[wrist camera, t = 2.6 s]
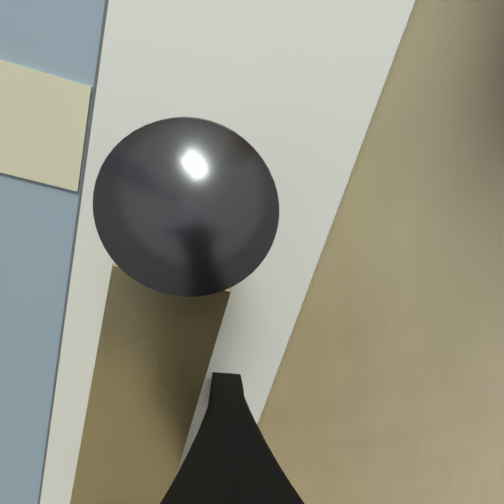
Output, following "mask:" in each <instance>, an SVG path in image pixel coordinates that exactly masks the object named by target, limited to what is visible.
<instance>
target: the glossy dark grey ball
mask: <svg viewBox="0 0 504 504" xmlns="http://www.w3.org/2000/svg"><path fill="white" fill-rule="evenodd" d="M93 216H94V221H95V226H96V229H97V232H98V235H99V238H100V240H101V242H102V244H103V246H104V248H105V250H106V251H107V253H108V254H109V256H110V257H111V259H112V260H113V261H114V262H115V263H116V264H117V265H118V267H119V268H120V269H121V270H123V271H124V272H125V273H126V274H127V275H128V276H130V277H131V278H132V279H134V280H135V281H137V282H138V283H140V284H142V285H144V286H146V287H148V288H150V289H153V290H155V291H158V292H161V293H165V294H168V295H174V296H182V297H196V296H205V295H210V294H215V293H218V292H221V291H224V290H226V289H228V288H231V287H233V286H235V285H236V284H238V283H239V282H241V281H243V280H244V279H245V278H247V277H248V276H249V275H250V274H252V273H253V272H254V271H255V269H256V268H257V267H258V266H259V265H260V264H261V263H262V261H263V260H264V259H265V257H266V256H267V254H268V252H269V250H270V248H271V246H272V244H273V241H274V239H275V236H276V232H277V228H278V222H279V199H278V193H277V189H276V186H275V182H274V179H273V177H272V175H271V173H270V170H269V168H268V167H267V165H266V164H265V162H264V160H263V159H262V157H261V156H260V155H259V154H258V152H257V151H256V150H255V149H254V147H253V146H252V145H251V144H250V143H249V142H248V141H246V140H245V139H244V138H243V137H242V136H240V135H239V134H238V133H236V132H235V131H233V130H232V129H230V128H228V127H226V126H224V125H222V124H219V123H217V122H214V121H211V120H207V119H203V118H197V117H172V118H167V119H162V120H159V121H156V122H153V123H150V124H147V125H145V126H143V127H141V128H139V129H137V130H135V131H133V132H132V133H130V134H129V135H127V136H126V137H125V138H123V139H122V140H121V141H120V142H119V143H118V144H117V145H116V146H115V147H114V148H113V149H112V151H111V152H110V153H109V155H108V156H107V157H106V159H105V161H104V163H103V164H102V166H101V168H100V170H99V173H98V176H97V178H96V182H95V186H94V191H93Z"/></svg>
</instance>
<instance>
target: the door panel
mask: <svg viewBox="0 0 504 504" xmlns="http://www.w3.org/2000/svg"><path fill="white" fill-rule="evenodd" d="M414 2H415V0H0V504H70V501H71V495H72V489H73V484H74V478H75V473H76V467H77V461H78V456H79V450H80V444H81V439H82V433H83V428H84V422H85V416H86V411H87V405H88V399H89V394H90V388H91V383H92V377H93V371H94V366H95V360H96V354H97V349H98V343H99V337H100V332H101V326H102V321H103V315H104V309H105V304H106V298H107V292H108V287H109V281H110V276H111V270H112V265H113V264H114V261H113V260H112V259H111V257H110V256H109V254H108V253H107V251H106V250H105V248H104V246H103V244H102V242H101V240H100V238H99V235H98V232H97V229H96V226H95V221H94V216H93V191H94V186H95V182H96V178H97V176H98V173H99V170H100V168H101V166H102V164H103V163H104V161H105V159H106V157H107V156H108V155H109V153H110V152H111V151H112V149H113V148H114V147H115V146H116V145H117V144H118V143H119V142H120V141H121V140H122V139H123V138H125V137H126V136H127V135H129V134H130V133H132V132H133V131H135V130H137V129H139V128H141V127H143V126H145V125H147V124H150V123H153V122H156V121H159V120H162V119H167V118H172V117H197V118H203V119H207V120H211V121H214V122H217V123H219V124H222V125H224V126H226V127H228V128H230V129H232V130H233V131H235V132H236V133H238V134H239V135H240V136H242V137H243V138H244V139H245V140H246V141H248V142H249V143H250V144H251V145H252V146H253V147H254V149H255V150H256V151H257V152H258V154H259V155H260V156H261V157H262V159H263V160H264V162H265V164H266V165H267V167H268V168H269V170H270V173H271V175H272V177H273V179H274V182H275V186H276V189H277V193H278V199H279V222H278V228H277V232H276V236H275V239H274V241H273V244H272V246H271V248H270V250H269V252H268V254H267V256H266V257H265V259H264V260H263V261H262V263H261V264H260V265H259V266H258V267H257V268H256V269H255V271H254V272H253V273H252V274H250V275H249V276H248V277H247V278H245V279H244V280H243V281H241V282H239V283H238V284H236V285H235V286H233V287H231V293H230V296H229V300H228V303H227V306H226V310H225V313H224V316H223V320H222V323H221V326H220V330H219V333H218V336H217V340H216V343H215V346H214V350H213V353H212V356H211V360H210V363H209V366H208V370H207V373H206V376H205V380H204V383H203V386H202V390H201V393H200V396H199V400H198V403H197V406H196V410H195V413H194V416H193V420H192V423H191V427H190V430H189V433H188V437H187V440H186V443H185V447H184V450H183V453H182V457H181V460H180V463H179V467H178V470H177V473H178V471H179V470H180V468H181V466H182V464H183V462H184V460H185V458H186V456H187V454H188V452H189V450H190V448H191V446H192V443H193V441H194V439H195V437H196V435H197V433H198V430H199V428H200V425H201V423H202V420H203V418H204V415H205V413H206V410H207V407H208V401H209V394H210V386H211V379H212V372H218V373H232V374H240V375H241V379H242V384H243V390H244V397H245V399H246V402H247V404H248V406H249V409H250V411H251V413H252V415H253V417H254V420H255V422H256V424H258V421H259V419H260V416H261V413H262V411H263V408H264V405H265V402H266V400H267V397H268V394H269V392H270V389H271V386H272V384H273V381H274V378H275V376H276V373H277V370H278V368H279V365H280V362H281V359H282V357H283V354H284V351H285V349H286V346H287V343H288V341H289V338H290V335H291V333H292V330H293V327H294V325H295V322H296V319H297V317H298V314H299V311H300V308H301V306H302V303H303V300H304V298H305V295H306V292H307V290H308V287H309V284H310V282H311V279H312V276H313V274H314V271H315V268H316V266H317V263H318V260H319V257H320V255H321V252H322V249H323V247H324V244H325V241H326V239H327V236H328V233H329V231H330V228H331V225H332V223H333V220H334V217H335V214H336V212H337V209H338V206H339V204H340V201H341V198H342V196H343V193H344V190H345V188H346V185H347V182H348V180H349V177H350V174H351V172H352V169H353V166H354V163H355V161H356V158H357V155H358V153H359V150H360V147H361V145H362V142H363V139H364V137H365V134H366V131H367V129H368V126H369V123H370V120H371V118H372V115H373V112H374V110H375V107H376V104H377V102H378V99H379V96H380V94H381V91H382V88H383V86H384V83H385V80H386V78H387V75H388V72H389V69H390V67H391V64H392V61H393V59H394V56H395V53H396V51H397V48H398V45H399V43H400V40H401V37H402V35H403V32H404V29H405V27H406V24H407V21H408V18H409V16H410V13H411V10H412V8H413V5H414ZM177 473H176V475H177Z"/></svg>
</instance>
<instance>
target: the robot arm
mask: <svg viewBox="0 0 504 504" xmlns="http://www.w3.org/2000/svg"><path fill="white" fill-rule="evenodd" d="M160 504H304V502H303V501H302V499H301V498H300V497H299V495H298V494H297V492H296V491H295V489H294V488H293V486H292V485H291V483H290V482H289V480H288V479H287V477H286V476H285V474H284V472H283V471H282V469H281V468H280V466H279V464H278V462H277V461H276V459H275V457H274V456H273V454H272V452H271V450H270V449H269V447H268V445H267V443H266V441H265V439H264V438H263V436H262V434H261V432H260V430H259V428H258V426H257V424H256V422H255V420H254V417H253V415H252V413H251V411H250V409H249V406H248V404H247V402H246V399H245V397H244V390H243V384H242V379H241V375H240V374H232V373H218V372H212V379H211V386H210V394H209V401H208V407H207V410H206V413H205V415H204V418H203V420H202V423H201V425H200V428H199V430H198V433H197V435H196V437H195V439H194V441H193V443H192V446H191V448H190V450H189V452H188V454H187V456H186V458H185V460H184V462H183V464H182V466H181V468H180V470H179V471H178V473H177V475H176V477H175V479H174V480H173V482H172V484H171V486H170V487H169V489H168V491H167V493H166V494H165V496H164V498H163V499H162V501H161V502H160Z"/></svg>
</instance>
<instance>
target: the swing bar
mask: <svg viewBox="0 0 504 504" xmlns="http://www.w3.org/2000/svg"><path fill="white" fill-rule="evenodd" d="M230 293H231V288H228V289H226V290H224V291H221V292H218V293H215V294H210V295H205V296H196V297H182V296H174V295H168V294H165V293H161V292H158V291H155V290H153V289H150V288H148V287H146V286H144V285H142V284H140V283H138V282H137V281H135V280H134V279H132V278H131V277H130V276H128V275H127V274H126V273H125V272H124V271H123V270H121V269H120V268H119V267H118V265H117V264H116V263H115V262H114V264H113V265H112V270H111V276H110V281H109V287H108V292H107V298H106V304H105V309H104V315H103V321H102V326H101V332H100V337H99V343H98V349H97V354H96V360H95V366H94V371H93V377H92V383H91V388H90V394H89V399H88V405H87V411H86V416H85V422H84V428H83V433H82V439H81V444H80V450H79V456H78V461H77V467H76V473H75V478H74V484H73V489H72V495H71V501H70V504H160V502H161V501H162V499H163V498H164V496H165V494H166V493H167V491H168V489H169V487H170V486H171V484H172V482H173V480H174V479H175V477H176V473H177V470H178V467H179V463H180V460H181V457H182V453H183V450H184V447H185V443H186V440H187V437H188V433H189V430H190V427H191V423H192V420H193V416H194V413H195V410H196V406H197V403H198V400H199V396H200V393H201V390H202V386H203V383H204V380H205V376H206V373H207V370H208V366H209V363H210V360H211V356H212V353H213V350H214V346H215V343H216V340H217V336H218V333H219V330H220V326H221V323H222V320H223V316H224V313H225V310H226V306H227V303H228V300H229V296H230Z"/></svg>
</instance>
